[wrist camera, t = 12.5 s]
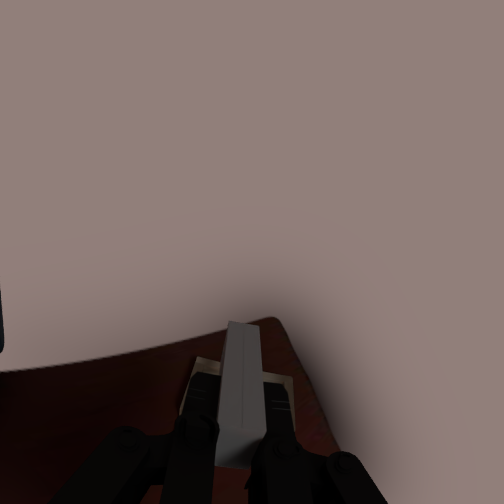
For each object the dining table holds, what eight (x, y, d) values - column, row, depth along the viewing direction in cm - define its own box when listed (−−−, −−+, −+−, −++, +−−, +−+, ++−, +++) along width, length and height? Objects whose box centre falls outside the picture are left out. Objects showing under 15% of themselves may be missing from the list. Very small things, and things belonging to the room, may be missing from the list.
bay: (178, 418, 35) (180, 407, 34) (195, 367, 46) (197, 356, 45) (288, 439, 35) (295, 430, 34) (287, 387, 47) (292, 376, 46)
